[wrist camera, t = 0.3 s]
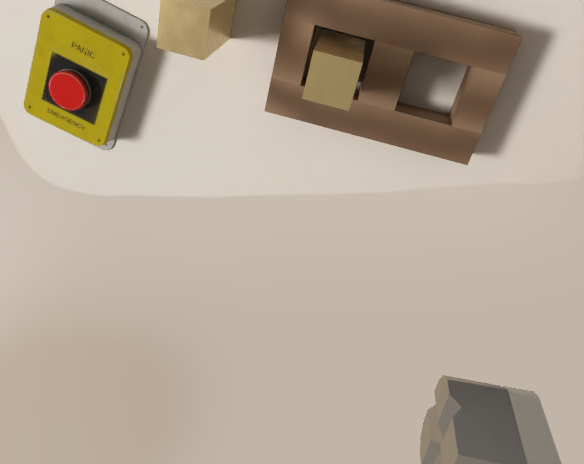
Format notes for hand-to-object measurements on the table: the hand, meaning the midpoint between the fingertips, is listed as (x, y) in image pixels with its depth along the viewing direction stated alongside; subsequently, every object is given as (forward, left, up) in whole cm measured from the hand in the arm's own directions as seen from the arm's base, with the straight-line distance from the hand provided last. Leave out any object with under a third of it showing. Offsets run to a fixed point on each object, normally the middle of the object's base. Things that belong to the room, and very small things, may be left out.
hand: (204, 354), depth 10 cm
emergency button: (+13, -24, -47) cm, 54 cm away
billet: (+4, -12, -46) cm, 48 cm away
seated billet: (+5, +1, -46) cm, 46 cm away
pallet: (+5, +5, -46) cm, 47 cm away
